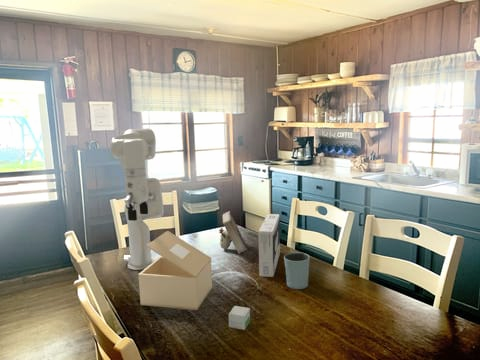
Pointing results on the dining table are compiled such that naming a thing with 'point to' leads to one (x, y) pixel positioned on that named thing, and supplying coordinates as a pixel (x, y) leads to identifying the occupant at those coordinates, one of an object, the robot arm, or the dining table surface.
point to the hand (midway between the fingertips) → (138, 217)
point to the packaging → (269, 245)
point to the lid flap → (179, 253)
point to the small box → (239, 317)
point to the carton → (173, 286)
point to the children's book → (231, 234)
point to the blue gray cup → (297, 269)
